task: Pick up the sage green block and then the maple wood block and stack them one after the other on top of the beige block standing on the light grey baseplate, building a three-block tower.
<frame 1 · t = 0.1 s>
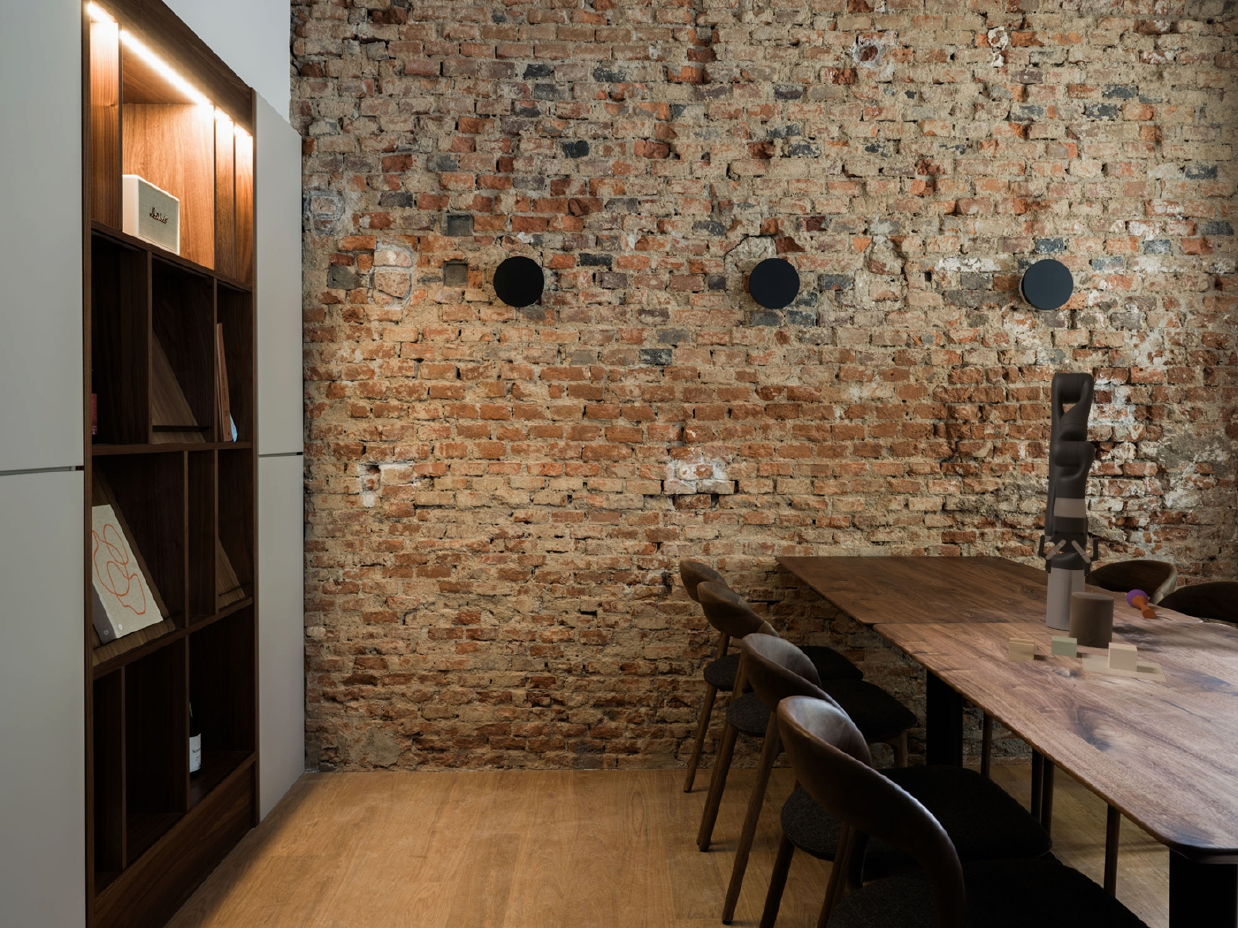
hand: (1067, 574, 219), 17 cm above the table, tool pointing down, fingers open, 8 cm apart
maple block: (1021, 660, 198), on the table
baseplate: (1121, 671, 190), on the table
sage block: (1063, 658, 201), on the table
kendama: (1141, 613, 253), on the table
pillar candle: (1090, 648, 211), on the table
beige block: (1122, 666, 190), point 1 cm above the table, touching baseplate
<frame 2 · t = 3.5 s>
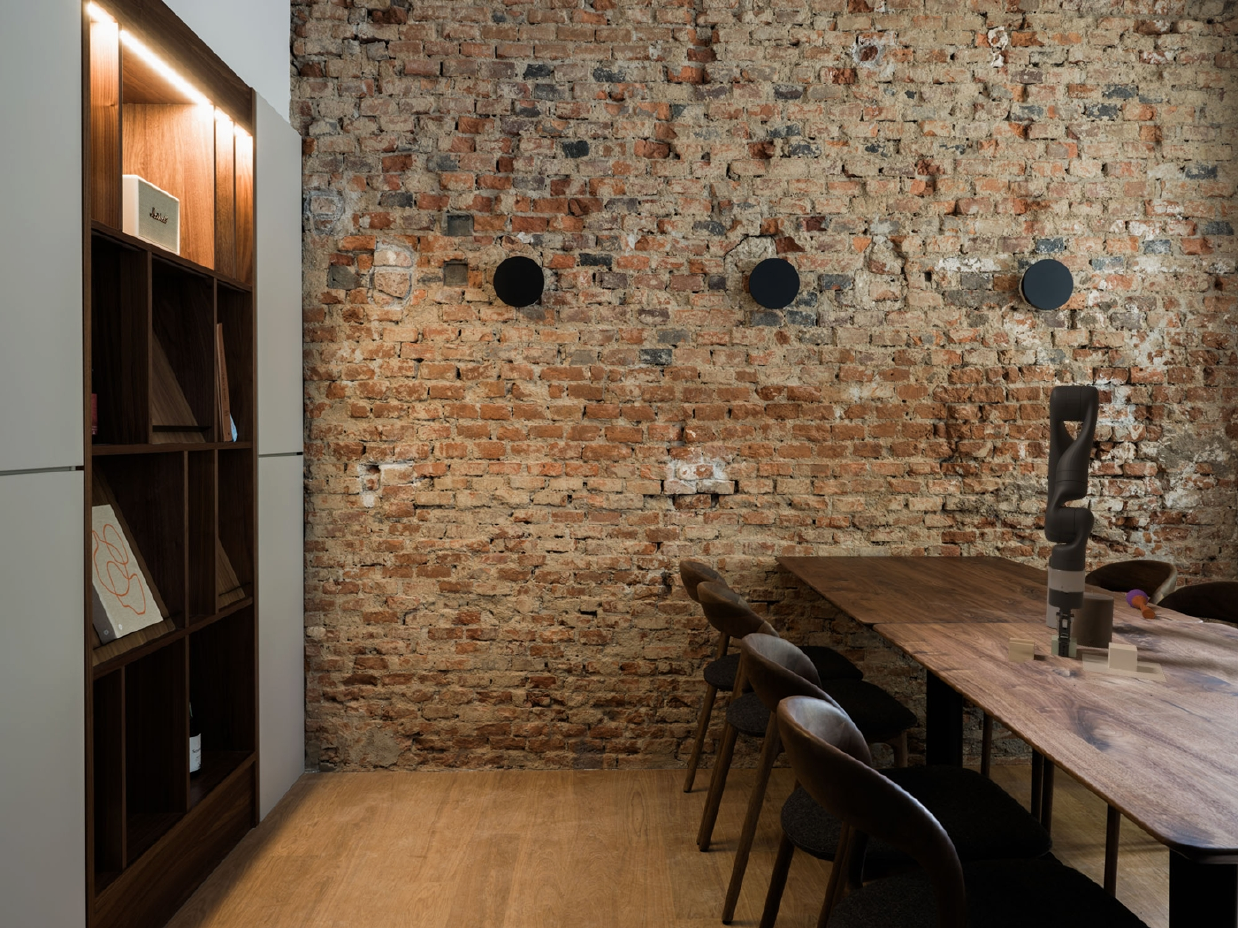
hand: (1063, 654, 201), 1 cm above the table, tool pointing down, fingers closed on sage block, 5 cm apart
sage block: (1063, 658, 201), on the table, touching gripper
everything else where it was.
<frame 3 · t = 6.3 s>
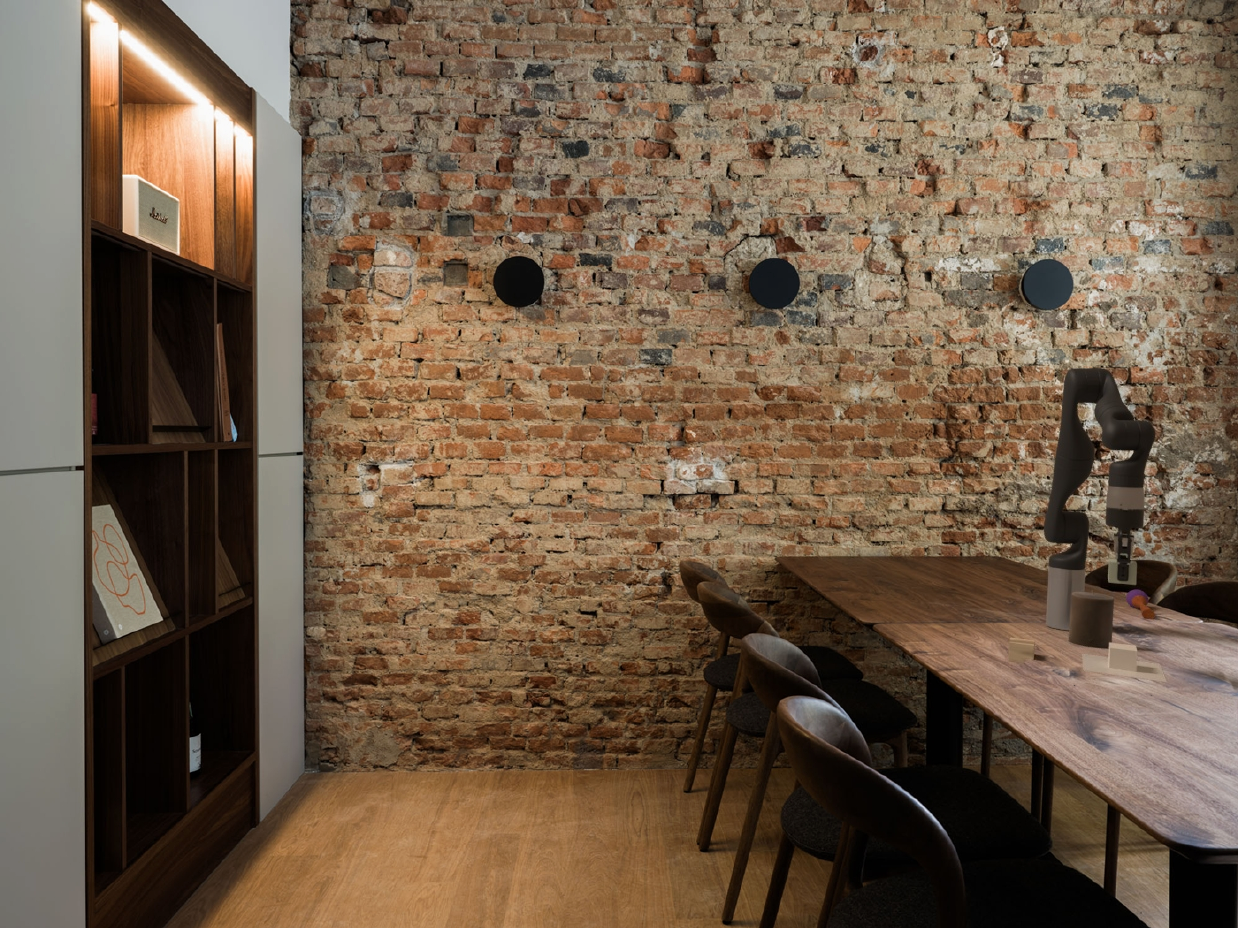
hand: (1122, 578, 189), 22 cm above the table, tool pointing down, fingers closed on sage block, 5 cm apart
sage block: (1121, 581, 189), point 21 cm above the table, touching gripper
everything else where it was.
when the fingers open (8 cm above the table, at t = 9.5 s): sage block drops 1 cm, resting on beige block.
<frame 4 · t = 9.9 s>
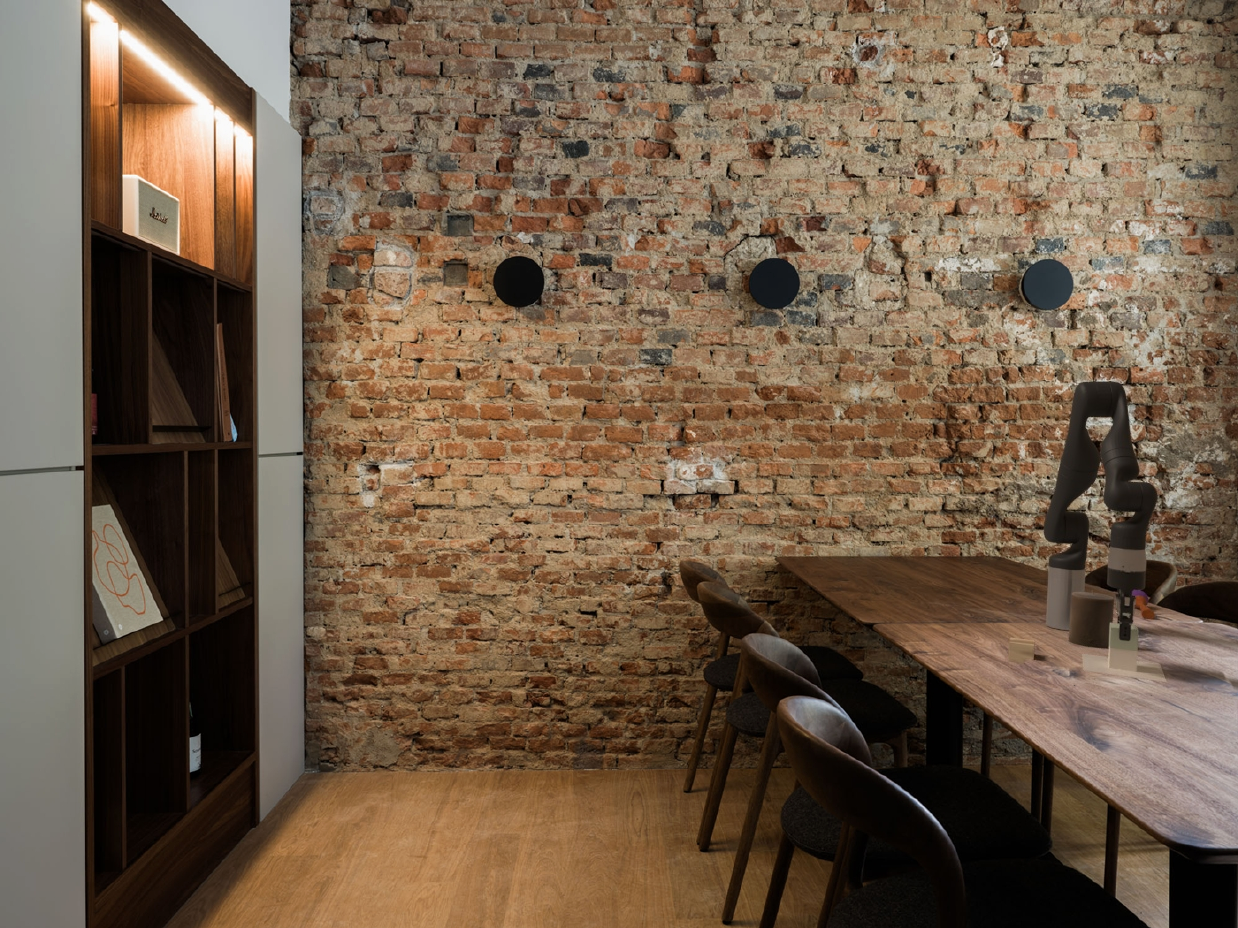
hand: (1123, 636, 189), 9 cm above the table, tool pointing down, fingers open, 8 cm apart
sage block: (1122, 646, 189), point 6 cm above the table, touching beige block
beige block: (1122, 666, 190), point 1 cm above the table, touching baseplate, sage block
everything else where it was.
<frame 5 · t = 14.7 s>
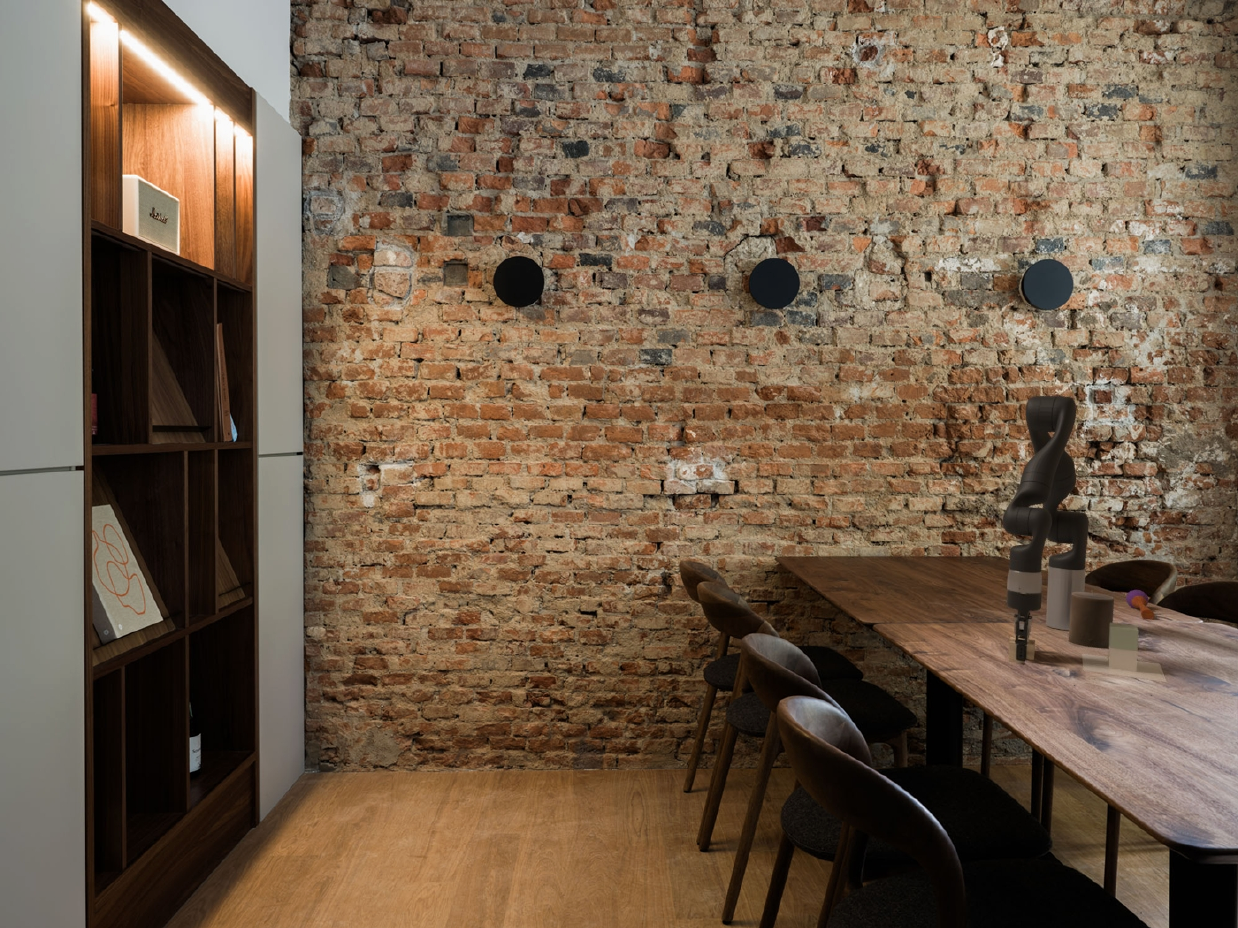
hand: (1021, 657, 198), 1 cm above the table, tool pointing down, fingers closed on maple block, 5 cm apart
maple block: (1021, 660, 198), on the table, touching gripper
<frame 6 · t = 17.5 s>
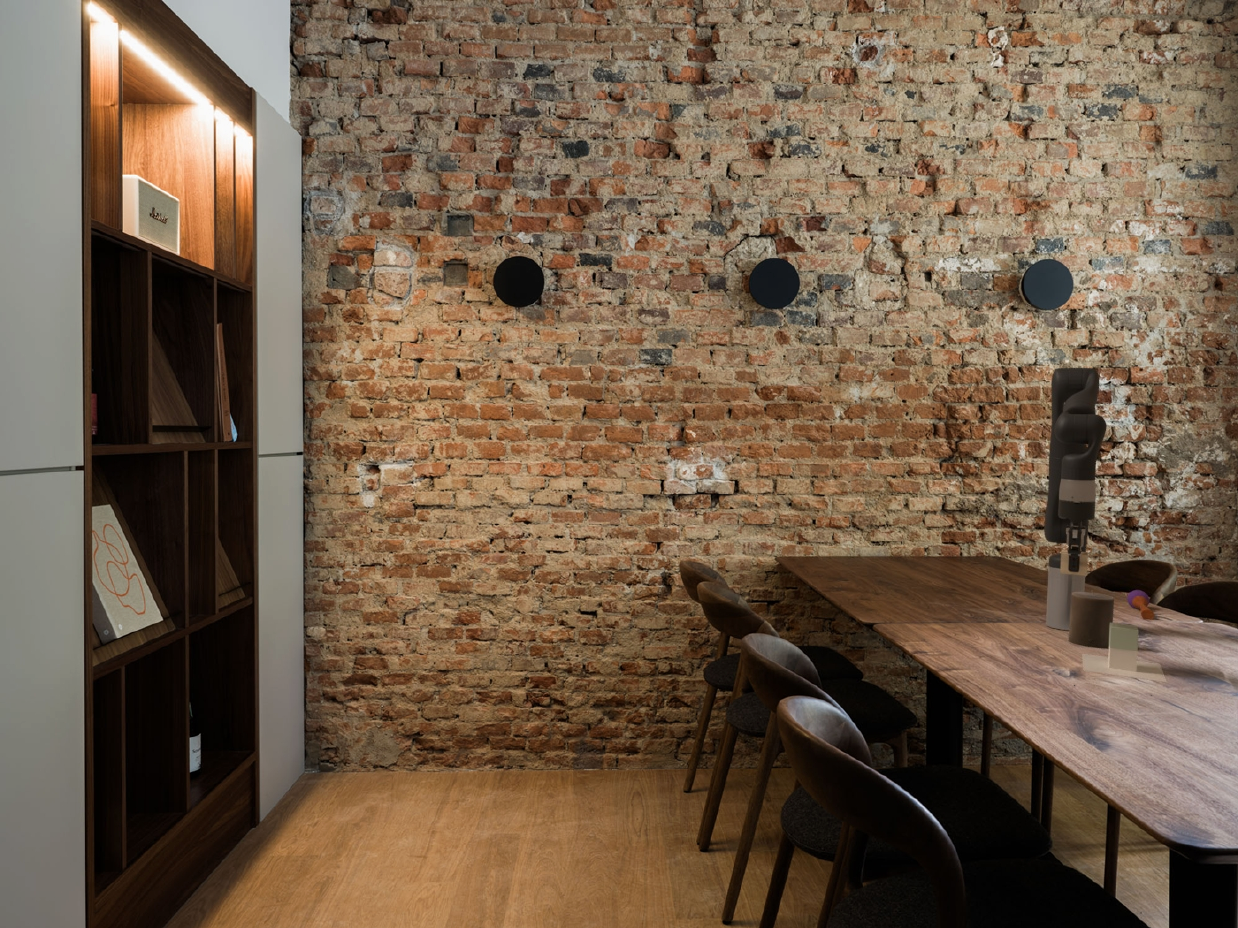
hand: (1074, 569, 193), 23 cm above the table, tool pointing down, fingers closed on maple block, 5 cm apart
maple block: (1073, 572, 193), point 22 cm above the table, touching gripper
when the fingers open (13 cm above the table, at t = 20.6 s): maple block stays where it is, resting on sage block.
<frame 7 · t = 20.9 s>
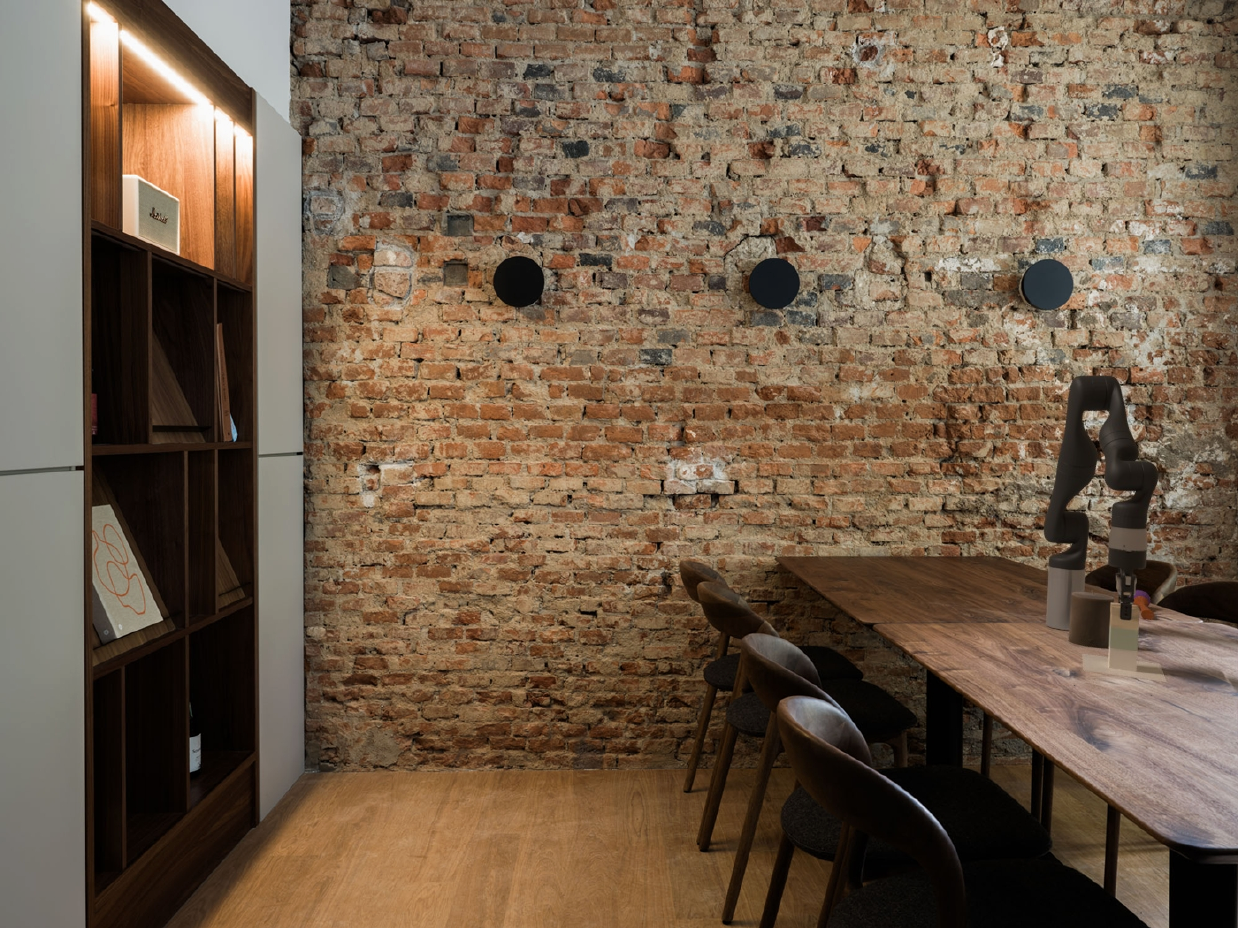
hand: (1124, 615, 189), 13 cm above the table, tool pointing down, fingers open, 8 cm apart
maple block: (1123, 626, 189), point 11 cm above the table, touching sage block
sage block: (1122, 646, 189), point 6 cm above the table, touching maple block, beige block
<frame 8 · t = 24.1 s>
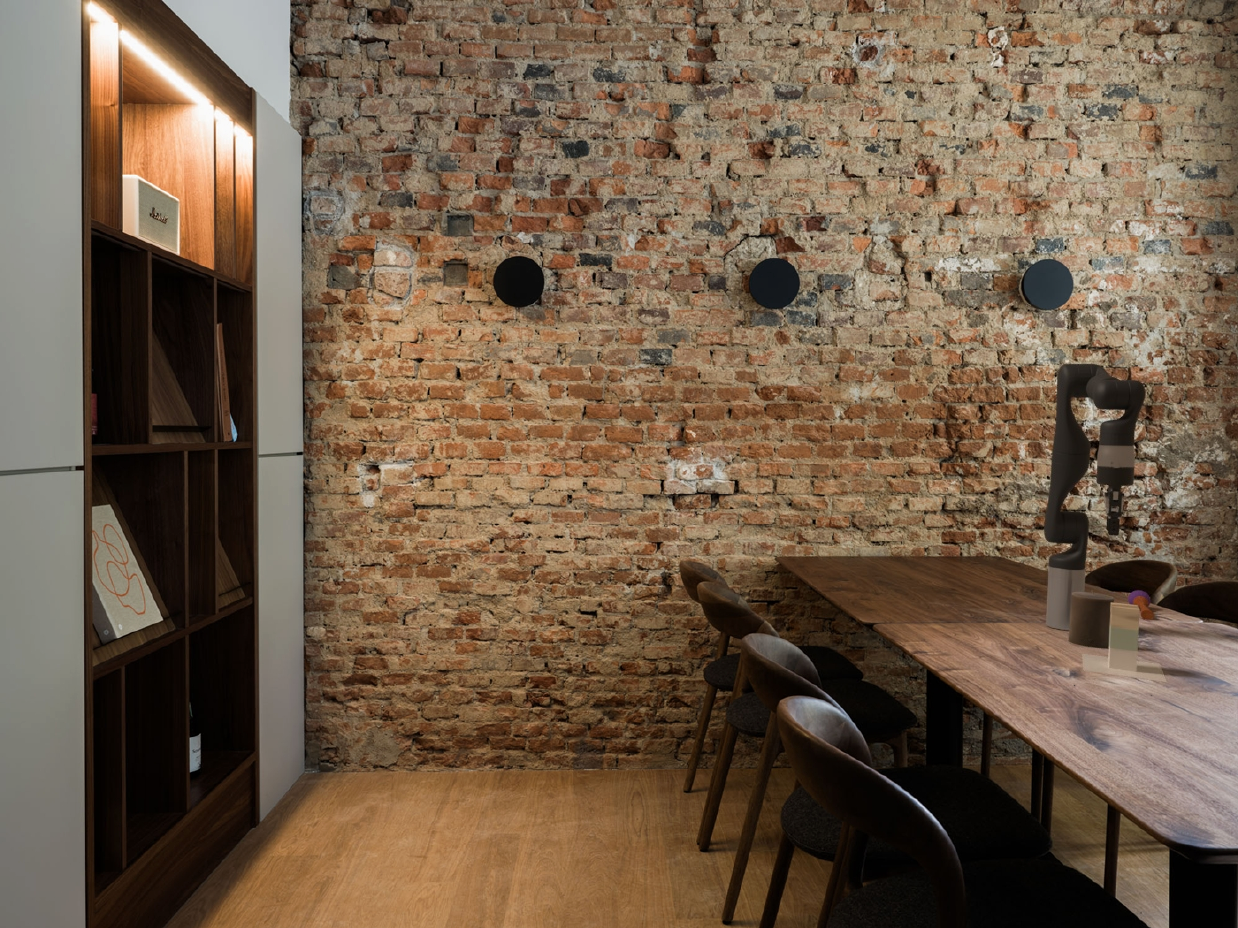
hand: (1112, 533, 192), 32 cm above the table, tool pointing down, fingers open, 8 cm apart
at the end: sage block 0.1 cm off-centre on the baseplate, point 6.0 cm above the baseplate's base; maple block 0.1 cm off-centre on the baseplate, point 10.8 cm above the baseplate's base; maple block tilted 0° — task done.
